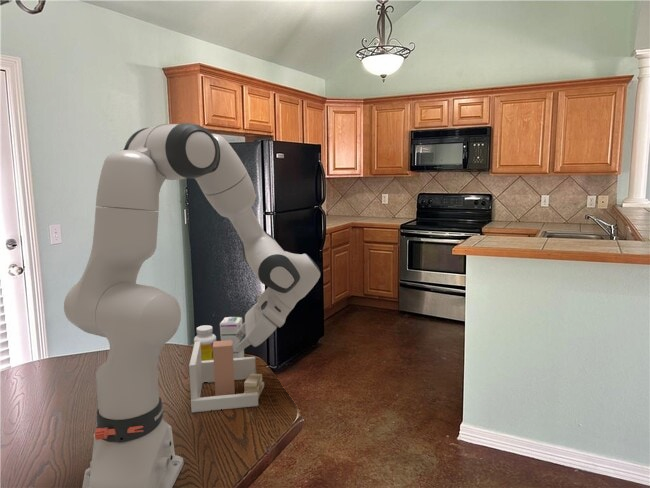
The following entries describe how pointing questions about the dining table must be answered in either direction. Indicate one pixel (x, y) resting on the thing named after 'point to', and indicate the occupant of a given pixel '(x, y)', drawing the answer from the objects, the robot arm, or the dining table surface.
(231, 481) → the dining table surface
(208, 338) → the supplement bottle
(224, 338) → the syrup box
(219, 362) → the salmon pink rectangular block
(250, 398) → the offcut rack
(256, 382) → the offcut stack
